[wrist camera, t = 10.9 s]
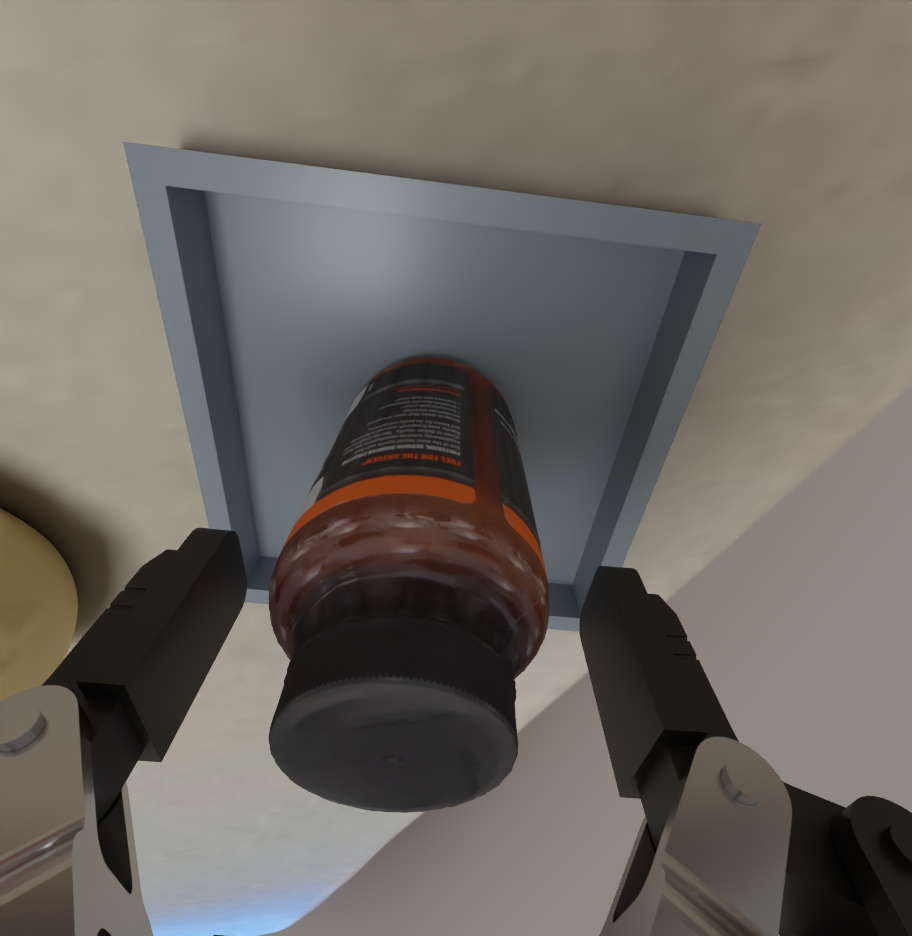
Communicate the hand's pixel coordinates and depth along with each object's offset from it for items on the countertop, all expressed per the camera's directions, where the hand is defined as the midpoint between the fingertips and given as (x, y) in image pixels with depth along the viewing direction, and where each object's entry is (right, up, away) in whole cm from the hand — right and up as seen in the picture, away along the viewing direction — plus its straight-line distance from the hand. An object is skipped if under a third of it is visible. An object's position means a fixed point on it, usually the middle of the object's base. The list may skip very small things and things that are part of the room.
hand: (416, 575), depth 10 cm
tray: (0, +4, +7) cm, 8 cm away
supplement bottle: (0, +4, +7) cm, 8 cm away
